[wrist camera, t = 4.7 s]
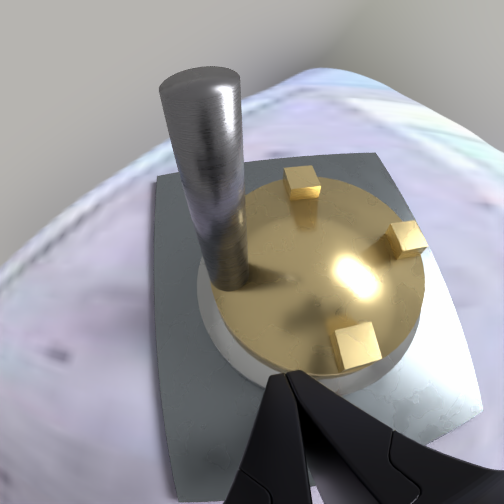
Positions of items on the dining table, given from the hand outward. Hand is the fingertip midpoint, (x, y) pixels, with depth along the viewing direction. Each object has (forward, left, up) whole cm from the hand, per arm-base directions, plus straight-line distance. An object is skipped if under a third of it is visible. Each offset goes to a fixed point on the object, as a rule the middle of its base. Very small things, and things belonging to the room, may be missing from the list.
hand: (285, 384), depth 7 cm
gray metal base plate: (+7, 0, -9) cm, 12 cm away
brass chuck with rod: (+7, 0, -7) cm, 10 cm away
